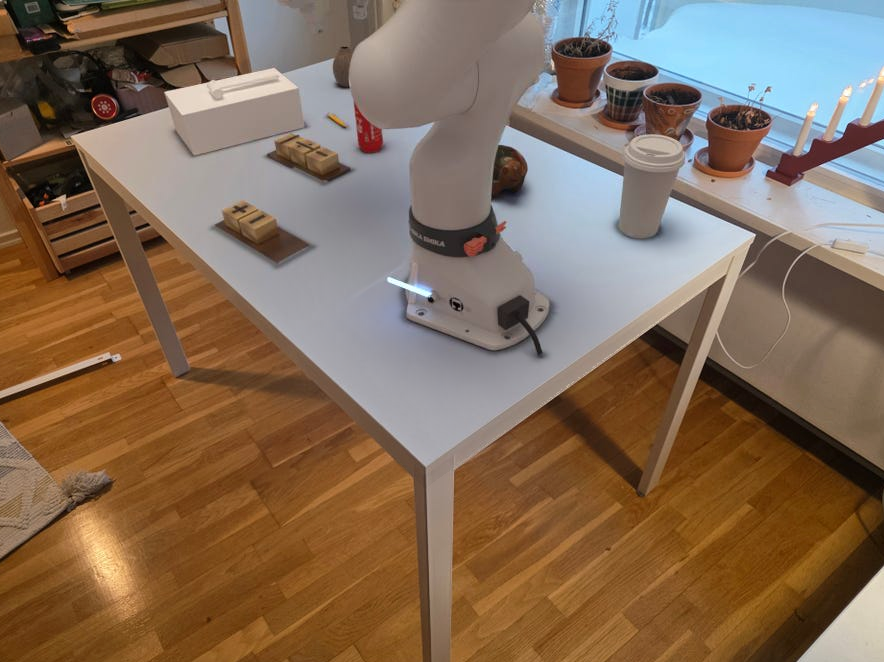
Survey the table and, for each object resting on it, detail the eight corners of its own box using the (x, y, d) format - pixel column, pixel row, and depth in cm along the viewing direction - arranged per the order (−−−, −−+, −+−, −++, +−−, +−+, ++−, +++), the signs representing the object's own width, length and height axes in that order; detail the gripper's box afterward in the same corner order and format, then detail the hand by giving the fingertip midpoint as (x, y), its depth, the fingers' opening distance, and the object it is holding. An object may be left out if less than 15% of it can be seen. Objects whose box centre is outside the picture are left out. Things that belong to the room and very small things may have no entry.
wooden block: (323, 159, 131) (321, 144, 129) (306, 167, 129) (303, 152, 127) (307, 152, 134) (305, 137, 132) (290, 159, 131) (287, 145, 129)
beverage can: (379, 154, 134) (374, 96, 126) (355, 152, 135) (349, 94, 127) (386, 143, 138) (381, 86, 129) (362, 141, 138) (356, 84, 130)
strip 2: (350, 170, 129) (348, 153, 127) (324, 183, 126) (321, 166, 123) (293, 144, 138) (290, 128, 136) (267, 156, 135) (263, 139, 132)
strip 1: (310, 247, 110) (307, 228, 107) (277, 265, 106) (273, 246, 103) (247, 211, 119) (242, 193, 116) (214, 227, 115) (209, 209, 112)
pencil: (330, 115, 148) (329, 112, 148) (348, 128, 143) (348, 125, 143) (327, 116, 148) (326, 113, 148) (345, 129, 143) (344, 126, 142)
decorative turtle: (495, 212, 116) (494, 170, 111) (461, 180, 127) (458, 140, 122) (543, 198, 118) (544, 156, 113) (506, 168, 129) (505, 128, 124)
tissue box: (176, 130, 145) (160, 81, 137) (281, 105, 154) (272, 57, 146) (194, 155, 136) (178, 103, 128) (304, 127, 145) (296, 77, 137)
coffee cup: (597, 227, 112) (612, 144, 102) (632, 207, 116) (649, 126, 106) (643, 250, 107) (663, 165, 96) (678, 229, 111) (700, 145, 101)
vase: (366, 85, 161) (363, 48, 155) (341, 91, 159) (337, 54, 153) (355, 77, 166) (351, 40, 160) (330, 82, 163) (325, 46, 157)
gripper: (284, -62, 87) (300, 47, 96) (391, -87, 97) (397, 14, 107) (255, -68, 90) (274, 38, 99) (362, -91, 101) (370, 7, 110)
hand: (339, 25), depth 103 cm, fingers open, 8 cm apart
